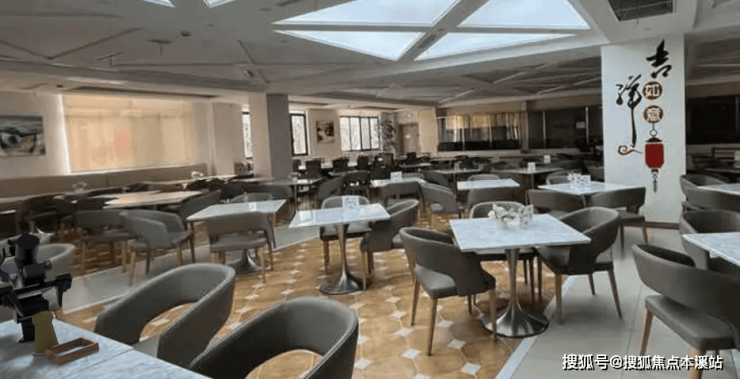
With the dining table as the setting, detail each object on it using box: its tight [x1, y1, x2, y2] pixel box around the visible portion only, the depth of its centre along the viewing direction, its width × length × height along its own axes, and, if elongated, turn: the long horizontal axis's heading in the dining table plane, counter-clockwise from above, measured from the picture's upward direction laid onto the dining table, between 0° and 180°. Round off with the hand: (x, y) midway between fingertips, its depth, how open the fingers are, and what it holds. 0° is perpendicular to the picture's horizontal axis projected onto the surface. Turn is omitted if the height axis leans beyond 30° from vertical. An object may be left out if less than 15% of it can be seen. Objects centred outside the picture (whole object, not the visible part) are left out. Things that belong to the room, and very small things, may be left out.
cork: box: [32, 310, 60, 353], centre depth 139 cm, size 6×6×11 cm
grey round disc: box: [32, 349, 45, 357], centre depth 139 cm, size 7×7×1 cm
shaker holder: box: [44, 336, 100, 365], centre depth 136 cm, size 10×10×2 cm
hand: (42, 311), depth 137 cm, fingers open, 9 cm apart
